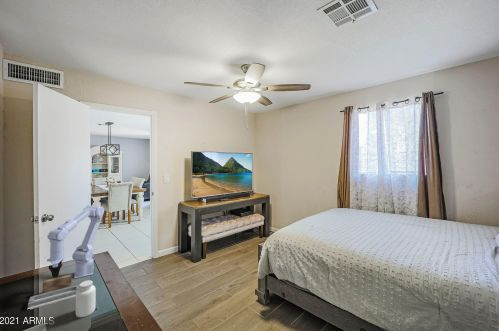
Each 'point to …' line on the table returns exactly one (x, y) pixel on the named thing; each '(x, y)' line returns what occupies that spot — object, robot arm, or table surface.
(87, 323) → the table surface
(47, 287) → the door panel
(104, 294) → the table surface
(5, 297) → the table surface
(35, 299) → the track
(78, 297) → the pill bottle
